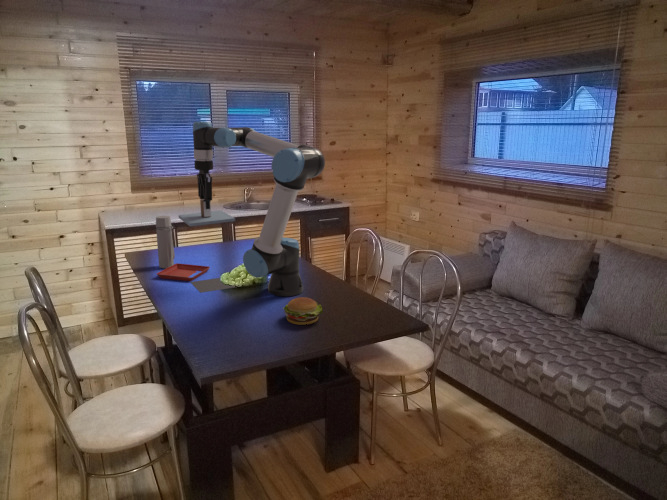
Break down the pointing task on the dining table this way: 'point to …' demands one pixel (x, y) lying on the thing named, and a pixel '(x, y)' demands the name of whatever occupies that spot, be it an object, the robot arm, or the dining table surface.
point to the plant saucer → (182, 272)
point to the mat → (210, 285)
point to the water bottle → (164, 242)
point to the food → (302, 311)
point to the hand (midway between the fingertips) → (205, 215)
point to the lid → (199, 218)
